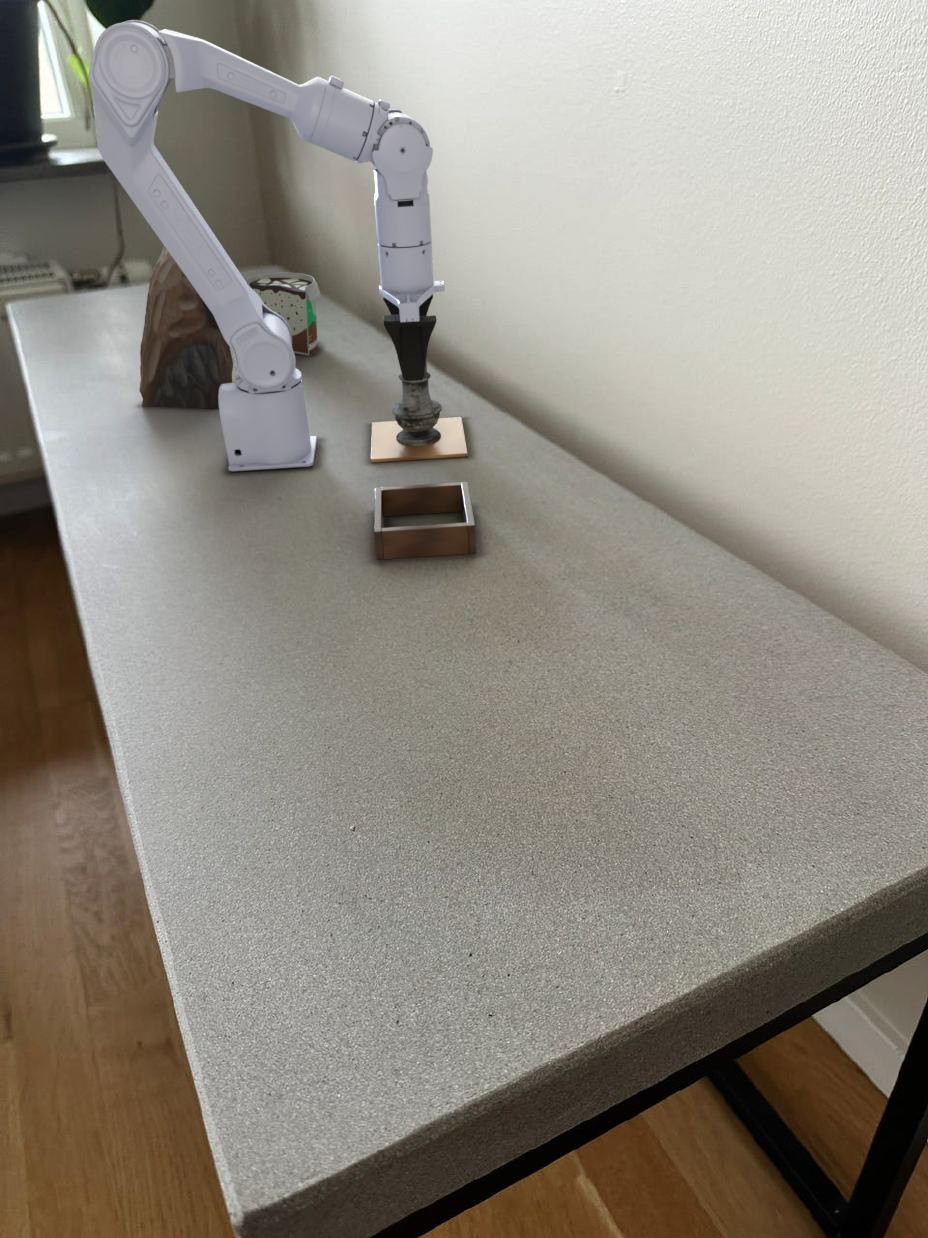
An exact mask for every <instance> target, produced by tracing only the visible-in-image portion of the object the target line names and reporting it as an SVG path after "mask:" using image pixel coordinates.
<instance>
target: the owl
mask: <svg viewBox="0 0 928 1238" xmlns="http://www.w3.org/2000/svg"><path fill="white" fill-rule="evenodd" d="M148 285H149V286H148V292H147V296H146V306H145V314H144V323H143V324H144V325H143V332H142V338H141V342H140V352H139V354H140V355H139V356H140V367H139V368H140V369H139V370H140V372H139V373H140V382H139V393H140V396H141V397H142V402H141V407H160V408H162V407H163V408H182V409H194V408H199V409H206V410H211V409H212V410H213V409H219V401H218V395H219V387H220V385H221V384H226V383H232V382H233V369H234V361H233V354H232V350H231V348H230V347H229V345H228V344H227V342H226V341H225V339H224V337H223V335H222V333H221V331H220V329H219V326H218V324H217V322H216V320H215V317H214V315H213V314H212V312H211V311H210V310H209V308H208V307H207V305H206V304H205V302H204V301H203V300H202V298H201V297H200V295H199V294H198V293H197V291H196V290H195V288H194V287H193V285H192V284H191V283H190V281H189V280H188V278H187V277H186V276H185V274H184V273H183V271H182V270H181V269H180V267H179V266H178V264H177V263H176V261H175V260H174V259H173V257H172V256H171V254H170V253H169V252H168V250H167V249H166V247H165V246H164V247H163V249H162V251H161V253H160V255H159V256H158V259H157V261H156V264H155V266H154V268H153V270H152V273H151V275H150V277H149V283H148Z"/></svg>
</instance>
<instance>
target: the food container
mask: <svg viewBox="0 0 928 1238" xmlns="http://www.w3.org/2000/svg"><path fill="white" fill-rule="evenodd" d="M246 283H247V284H248V285H249V286H250V287H251V288H252V289H253V290H254V291H255V292H256V293H257V294H258V295H259V297H260V298H261V300H262V301H263V303H264V304H265V305H266V306H267V307H268V308H269V309H270V310H272V311H274V312H275V313H277V314H279V315H280V316H281V317H283V318H284V319H285V321H286V322H287V323H288V325H289V327H290V329H291V333H292V349H293V351H294V354H299V355H304V356H309V357H310V356H312V355H313V354H315V353H316V352H317V351H318V323H317V322H318V321H317V299H318V298H319V297H320V296H321V291H320V288H319V285H318V283H317V281H316V280H315V278H314V277H313V276H312V275H309V274H306V273H301V272H270V273H264V274H258V275H253V276H250V277H246Z"/></svg>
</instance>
